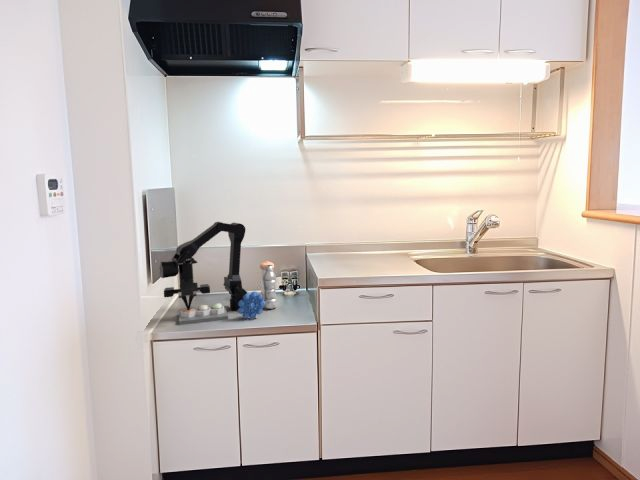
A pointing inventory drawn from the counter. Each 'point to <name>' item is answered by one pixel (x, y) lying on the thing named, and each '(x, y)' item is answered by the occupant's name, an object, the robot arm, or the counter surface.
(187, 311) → the terracotta button
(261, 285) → the pepper shaker
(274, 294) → the plastic bottle
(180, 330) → the counter surface
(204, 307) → the grey button
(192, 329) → the counter surface
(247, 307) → the grapes
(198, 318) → the button panel
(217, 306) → the sage button
